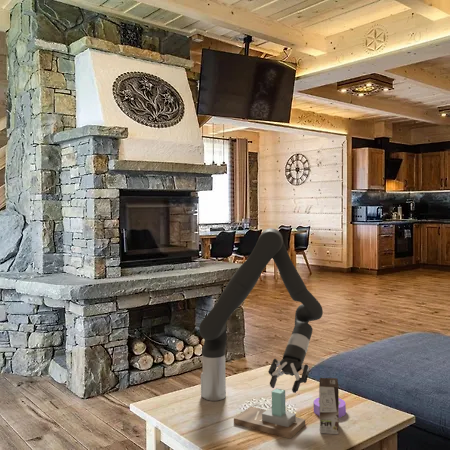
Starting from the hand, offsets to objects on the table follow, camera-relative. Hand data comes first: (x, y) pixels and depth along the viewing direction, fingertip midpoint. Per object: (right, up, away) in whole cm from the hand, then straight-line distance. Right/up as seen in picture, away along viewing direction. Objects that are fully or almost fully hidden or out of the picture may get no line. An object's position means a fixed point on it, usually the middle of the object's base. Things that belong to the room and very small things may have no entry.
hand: (282, 389), depth 175 cm
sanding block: (-1, -10, -2) cm, 11 cm away
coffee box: (+16, -12, -4) cm, 20 cm away
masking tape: (+19, -12, +10) cm, 24 cm away
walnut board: (-5, -12, 0) cm, 13 cm away
